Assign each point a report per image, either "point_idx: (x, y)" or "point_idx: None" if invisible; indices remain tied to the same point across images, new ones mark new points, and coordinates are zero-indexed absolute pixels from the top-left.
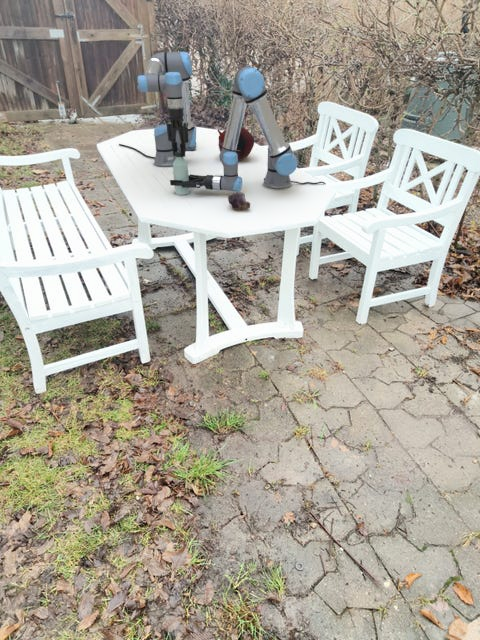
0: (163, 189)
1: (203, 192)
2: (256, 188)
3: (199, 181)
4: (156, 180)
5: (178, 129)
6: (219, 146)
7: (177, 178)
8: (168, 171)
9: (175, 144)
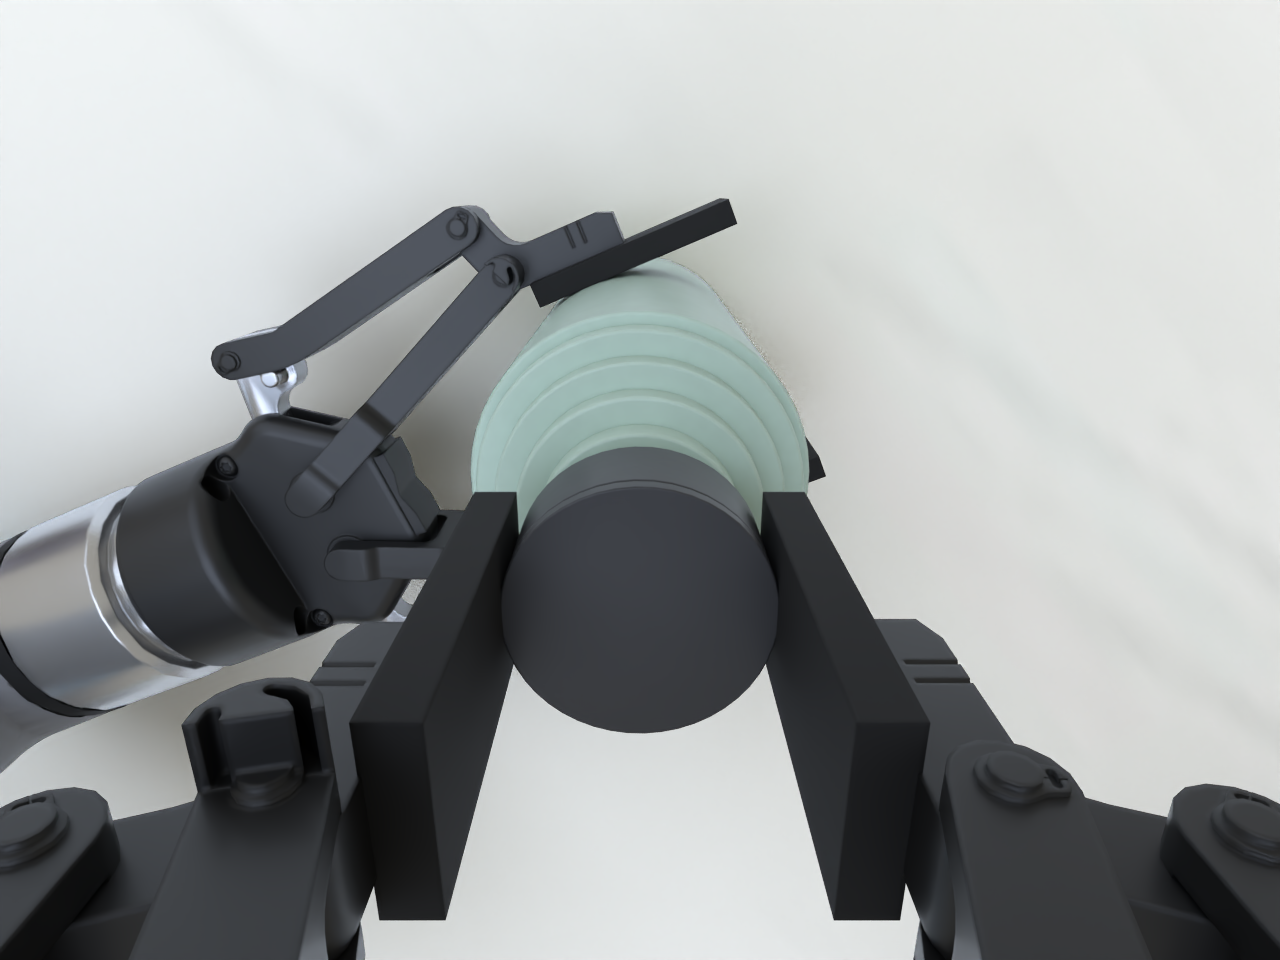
0: (942, 308)
1: None
2: None
3: (297, 443)
4: (1236, 528)
5: None
6: None
7: (612, 280)
8: None
9: (824, 770)
